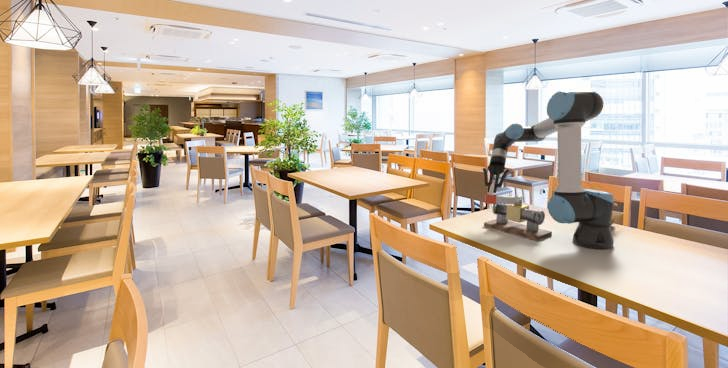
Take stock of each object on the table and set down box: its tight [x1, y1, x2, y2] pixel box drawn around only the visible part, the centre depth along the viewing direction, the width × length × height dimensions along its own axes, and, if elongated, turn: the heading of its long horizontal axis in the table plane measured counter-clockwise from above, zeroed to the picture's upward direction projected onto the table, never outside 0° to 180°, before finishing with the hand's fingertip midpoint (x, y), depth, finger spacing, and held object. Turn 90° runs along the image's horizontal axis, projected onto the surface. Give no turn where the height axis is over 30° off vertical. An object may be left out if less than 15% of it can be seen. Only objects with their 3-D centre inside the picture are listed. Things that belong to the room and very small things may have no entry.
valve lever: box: [484, 194, 524, 206], centre depth 185 cm, size 17×4×4 cm, turn 75°
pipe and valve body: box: [492, 203, 546, 233], centre depth 184 cm, size 23×7×10 cm, turn 37°
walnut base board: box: [483, 218, 553, 242], centre depth 186 cm, size 28×12×2 cm, turn 37°
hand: (490, 197), depth 189 cm, fingers closed
